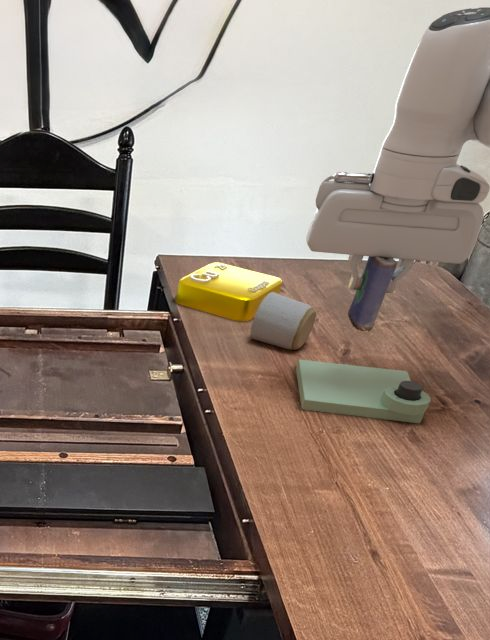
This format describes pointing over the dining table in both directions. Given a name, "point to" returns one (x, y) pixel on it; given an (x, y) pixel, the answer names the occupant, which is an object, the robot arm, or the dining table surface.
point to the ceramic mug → (283, 322)
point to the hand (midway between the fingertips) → (370, 290)
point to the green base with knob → (357, 391)
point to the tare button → (409, 390)
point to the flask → (371, 292)
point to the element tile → (226, 291)
